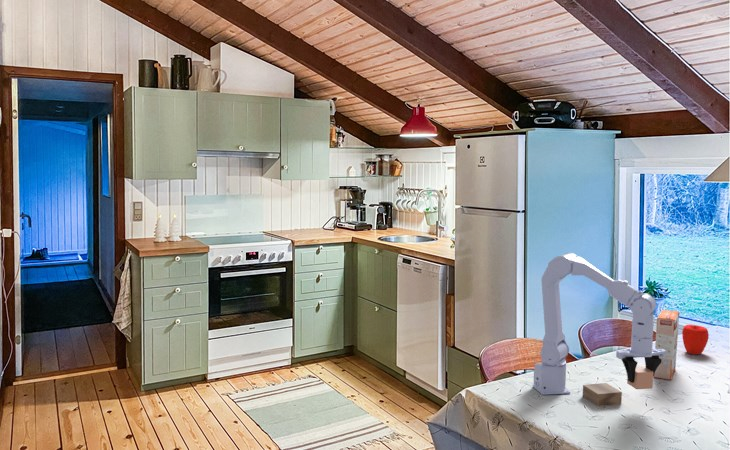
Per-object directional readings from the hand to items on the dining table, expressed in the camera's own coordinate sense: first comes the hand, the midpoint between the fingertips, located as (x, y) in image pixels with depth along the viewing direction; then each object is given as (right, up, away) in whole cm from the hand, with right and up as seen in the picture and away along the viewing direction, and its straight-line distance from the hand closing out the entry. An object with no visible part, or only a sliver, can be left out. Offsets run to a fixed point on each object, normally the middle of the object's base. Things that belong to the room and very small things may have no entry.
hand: (639, 381), depth 184 cm
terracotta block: (0, -1, 0) cm, 1 cm away
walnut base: (-8, -8, +7) cm, 14 cm away
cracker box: (+23, -5, +32) cm, 39 cm away
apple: (+45, -3, +55) cm, 71 cm away
